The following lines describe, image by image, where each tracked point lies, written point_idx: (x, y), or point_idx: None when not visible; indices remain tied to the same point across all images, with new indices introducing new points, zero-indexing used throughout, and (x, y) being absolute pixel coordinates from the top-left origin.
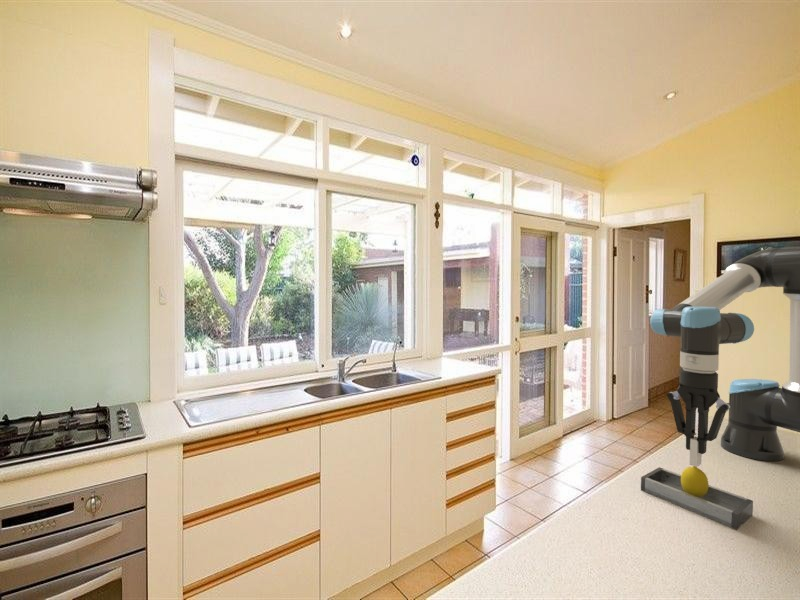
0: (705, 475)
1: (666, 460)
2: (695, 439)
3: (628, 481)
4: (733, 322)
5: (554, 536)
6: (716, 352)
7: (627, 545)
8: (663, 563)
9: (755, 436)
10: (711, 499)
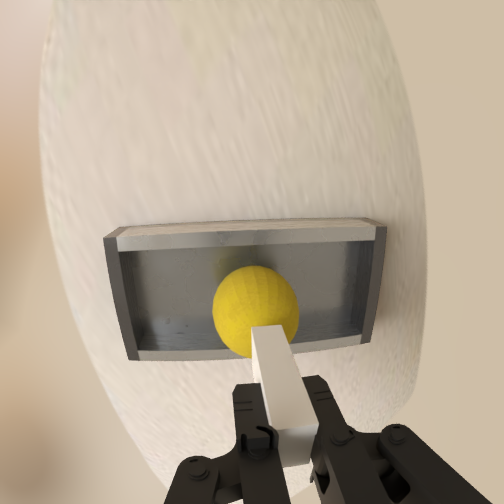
0: (295, 319)
1: (72, 60)
2: (294, 458)
3: (93, 317)
4: None
5: None
6: None
7: None
8: (294, 466)
9: None
10: (284, 249)
